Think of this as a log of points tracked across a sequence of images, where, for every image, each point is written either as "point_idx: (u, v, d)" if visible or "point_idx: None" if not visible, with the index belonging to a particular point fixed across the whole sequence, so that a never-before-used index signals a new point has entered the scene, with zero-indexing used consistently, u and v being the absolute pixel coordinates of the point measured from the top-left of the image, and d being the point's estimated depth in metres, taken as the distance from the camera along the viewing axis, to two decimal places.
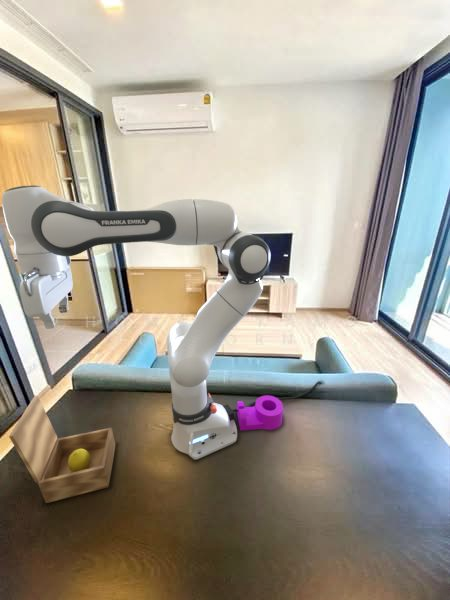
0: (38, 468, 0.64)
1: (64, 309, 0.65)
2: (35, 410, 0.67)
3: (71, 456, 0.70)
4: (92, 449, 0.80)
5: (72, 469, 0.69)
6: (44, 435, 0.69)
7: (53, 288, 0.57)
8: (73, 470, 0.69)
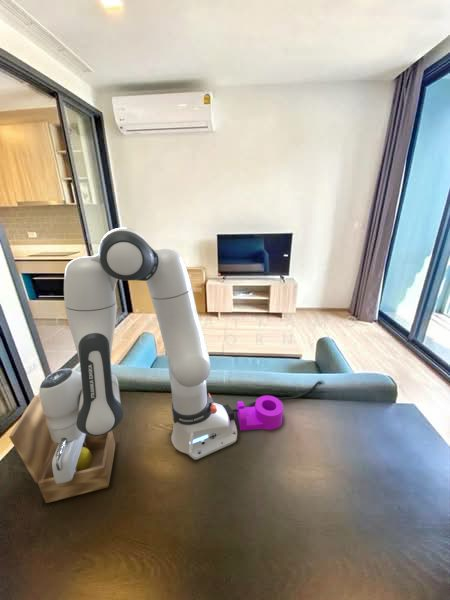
0: (38, 468, 0.64)
1: None
2: (35, 410, 0.67)
3: None
4: (92, 449, 0.80)
5: None
6: (44, 435, 0.69)
7: (76, 446, 0.68)
8: None
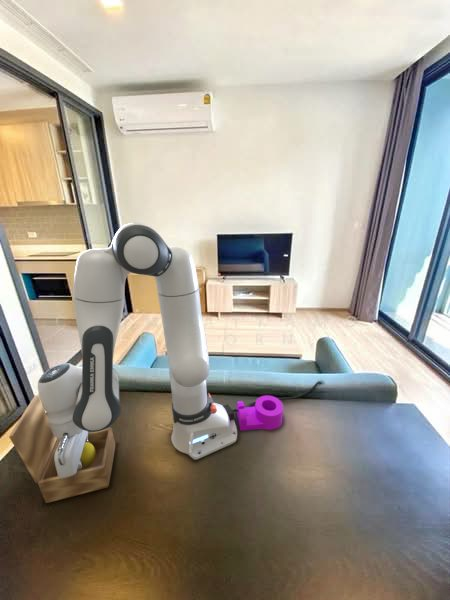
0: (38, 468, 0.64)
1: None
2: (35, 410, 0.67)
3: None
4: None
5: None
6: (44, 435, 0.69)
7: (79, 440, 0.67)
8: None
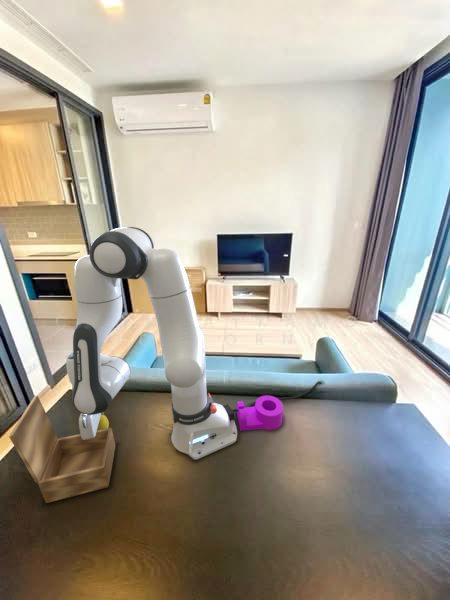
0: (38, 468, 0.64)
1: None
2: (35, 410, 0.67)
3: None
4: (92, 449, 0.80)
5: None
6: (44, 435, 0.69)
7: None
8: None
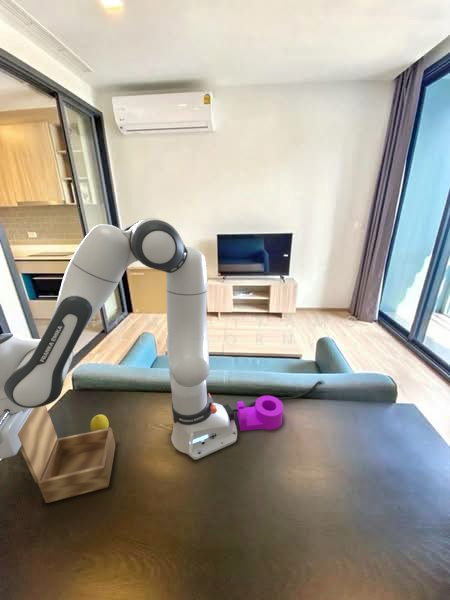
0: (39, 468, 0.64)
1: None
2: (39, 409, 0.68)
3: (94, 419, 0.83)
4: (92, 449, 0.80)
5: (94, 429, 0.82)
6: (46, 435, 0.69)
7: (24, 419, 0.61)
8: (95, 430, 0.82)
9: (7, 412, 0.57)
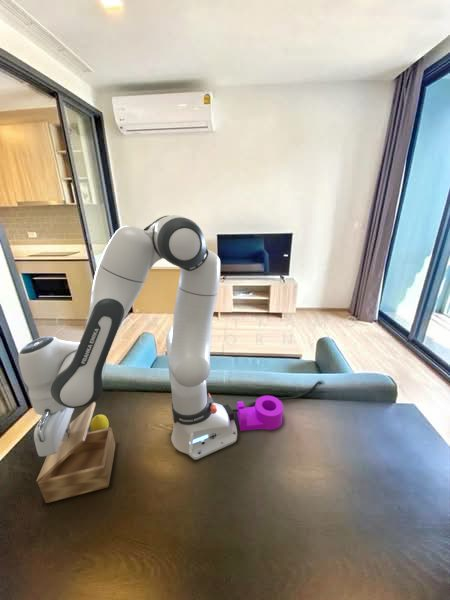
0: None
1: None
2: None
3: (94, 419, 0.83)
4: (92, 449, 0.80)
5: (94, 429, 0.82)
6: None
7: (62, 419, 0.64)
8: (95, 430, 0.82)
9: (48, 412, 0.60)
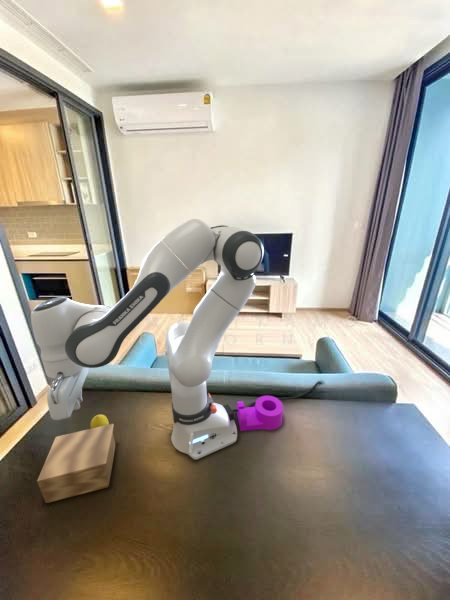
0: None
1: None
2: None
3: (94, 419, 0.83)
4: None
5: None
6: None
7: (74, 384, 0.61)
8: None
9: (61, 375, 0.57)
